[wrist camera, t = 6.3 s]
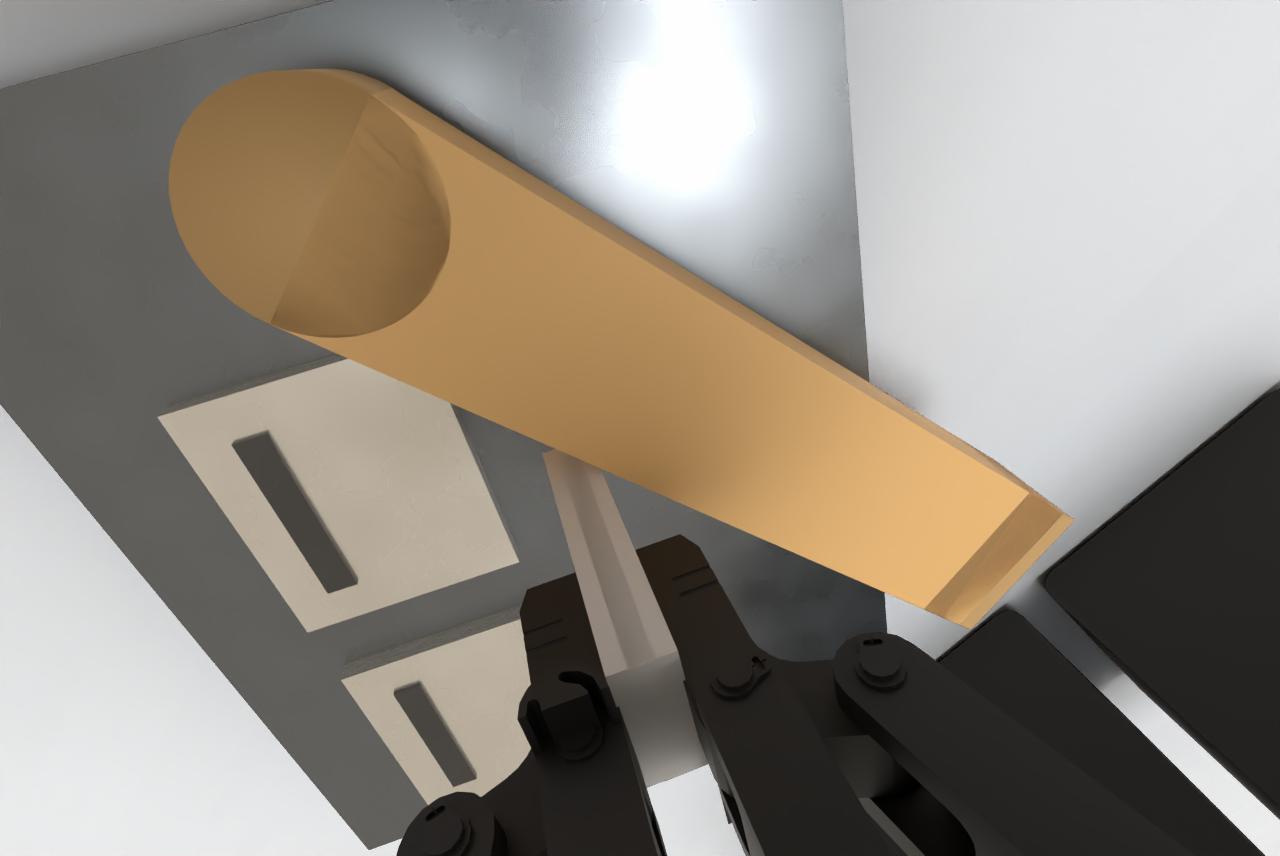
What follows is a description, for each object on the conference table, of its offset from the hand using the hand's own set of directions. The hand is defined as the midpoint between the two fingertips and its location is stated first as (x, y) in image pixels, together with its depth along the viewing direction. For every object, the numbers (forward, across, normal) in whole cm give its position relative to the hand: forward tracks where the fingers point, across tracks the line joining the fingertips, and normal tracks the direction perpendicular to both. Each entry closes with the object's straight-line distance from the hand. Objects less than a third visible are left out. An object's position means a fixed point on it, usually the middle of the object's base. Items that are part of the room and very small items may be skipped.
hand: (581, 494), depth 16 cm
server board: (+5, -1, -2) cm, 5 cm away
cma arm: (+2, +3, +2) cm, 4 cm away
